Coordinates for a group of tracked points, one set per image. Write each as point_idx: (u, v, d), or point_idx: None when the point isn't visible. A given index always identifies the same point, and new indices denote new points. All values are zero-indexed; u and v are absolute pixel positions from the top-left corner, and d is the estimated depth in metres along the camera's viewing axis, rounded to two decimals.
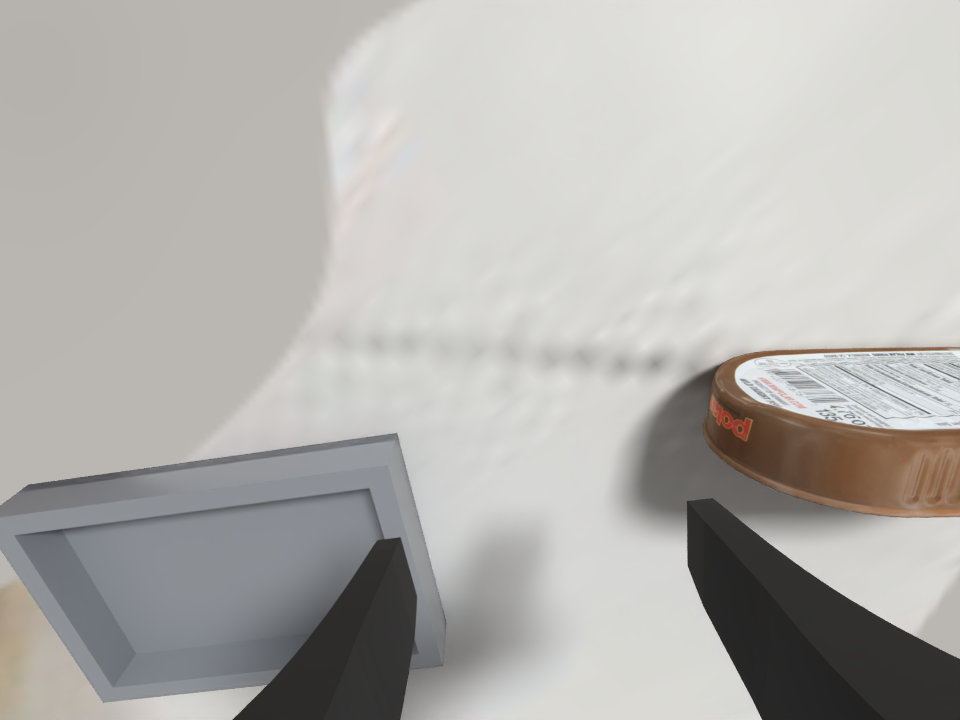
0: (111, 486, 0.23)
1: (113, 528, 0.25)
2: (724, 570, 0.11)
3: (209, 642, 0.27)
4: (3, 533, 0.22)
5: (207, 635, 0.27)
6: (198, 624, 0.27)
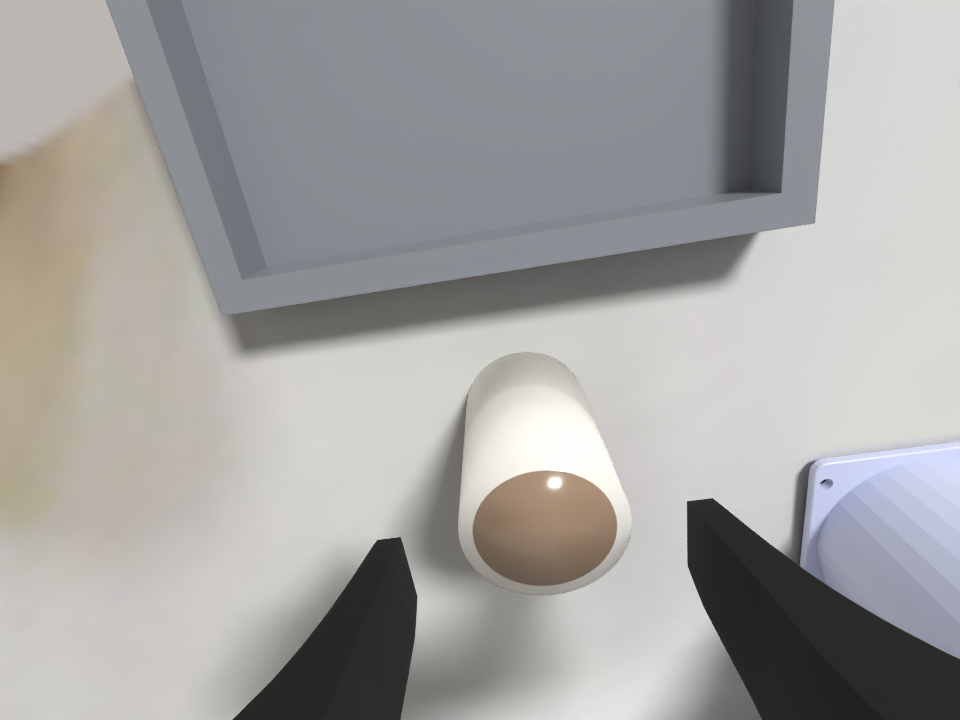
0: None
1: None
2: (725, 570, 0.11)
3: (388, 240, 0.17)
4: None
5: (387, 224, 0.17)
6: (375, 198, 0.16)
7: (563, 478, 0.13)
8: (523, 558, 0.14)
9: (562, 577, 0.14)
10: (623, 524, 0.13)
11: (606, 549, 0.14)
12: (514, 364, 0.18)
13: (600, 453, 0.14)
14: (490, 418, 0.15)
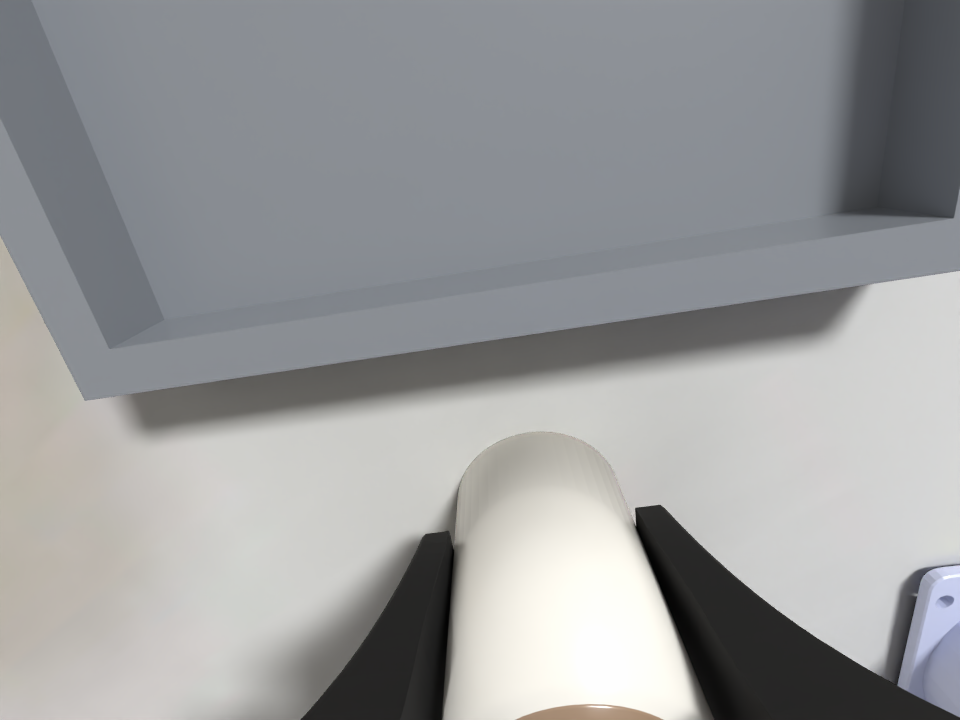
0: None
1: None
2: (664, 577, 0.11)
3: (340, 282, 0.12)
4: None
5: (337, 259, 0.11)
6: (319, 221, 0.11)
7: (617, 716, 0.07)
8: None
9: None
10: None
11: None
12: (524, 454, 0.13)
13: (671, 646, 0.08)
14: (490, 562, 0.10)
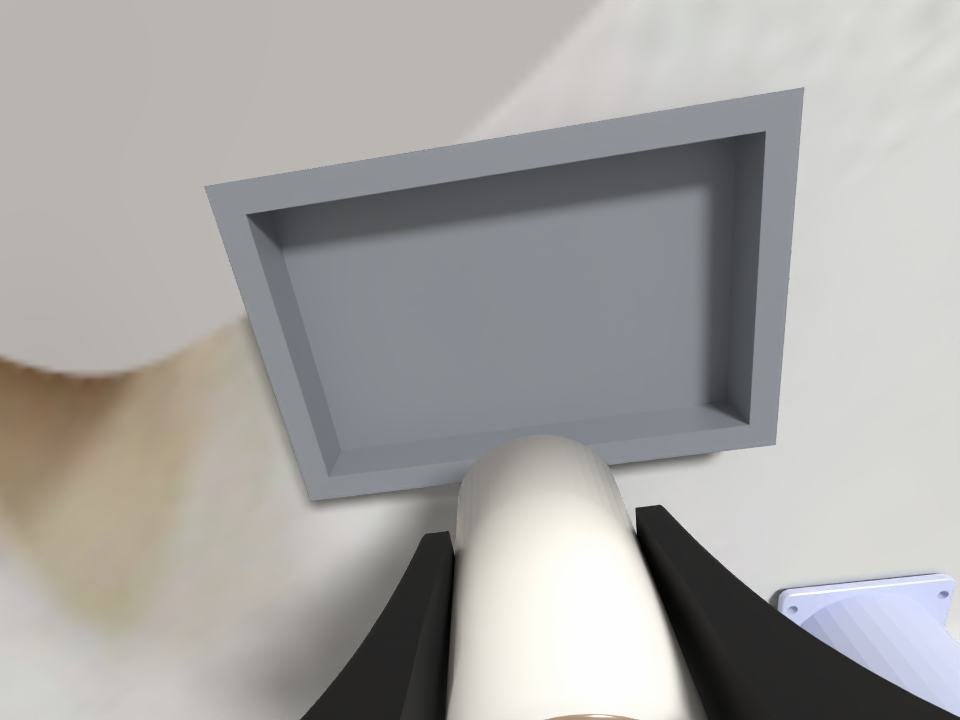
0: None
1: (350, 244, 0.18)
2: (664, 577, 0.11)
3: (439, 433, 0.21)
4: (231, 211, 0.16)
5: (439, 422, 0.21)
6: (431, 404, 0.21)
7: None
8: None
9: None
10: None
11: None
12: (525, 458, 0.13)
13: (670, 655, 0.09)
14: (493, 569, 0.10)
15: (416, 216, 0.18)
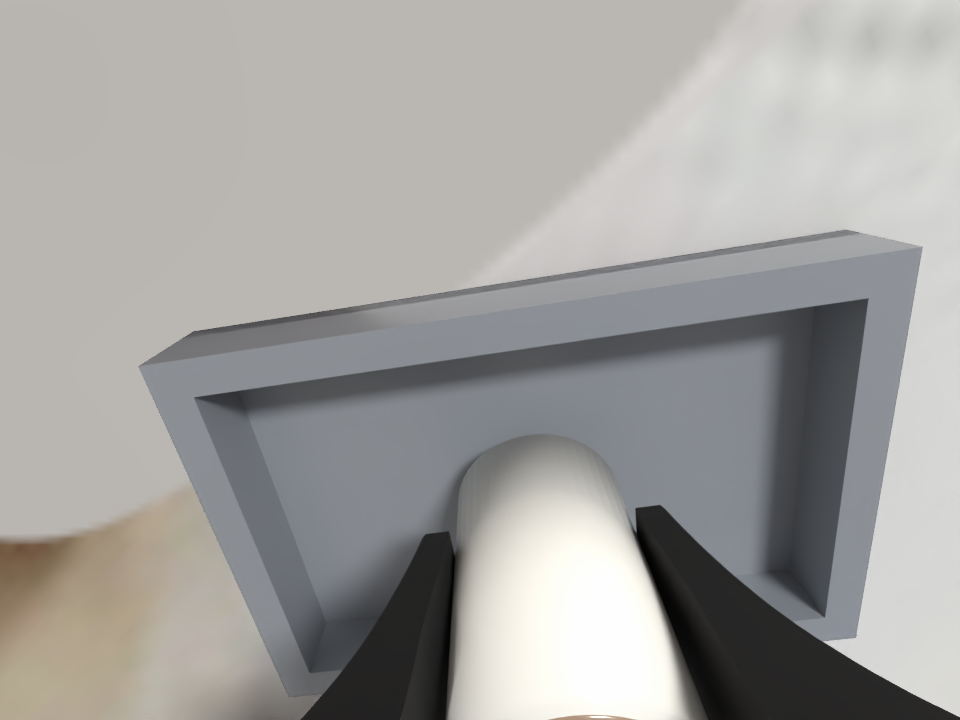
0: (356, 318, 0.13)
1: (331, 406, 0.15)
2: (665, 577, 0.11)
3: None
4: (175, 393, 0.12)
5: None
6: None
7: None
8: None
9: None
10: None
11: None
12: (525, 458, 0.13)
13: (670, 655, 0.09)
14: (493, 569, 0.10)
15: (413, 374, 0.14)
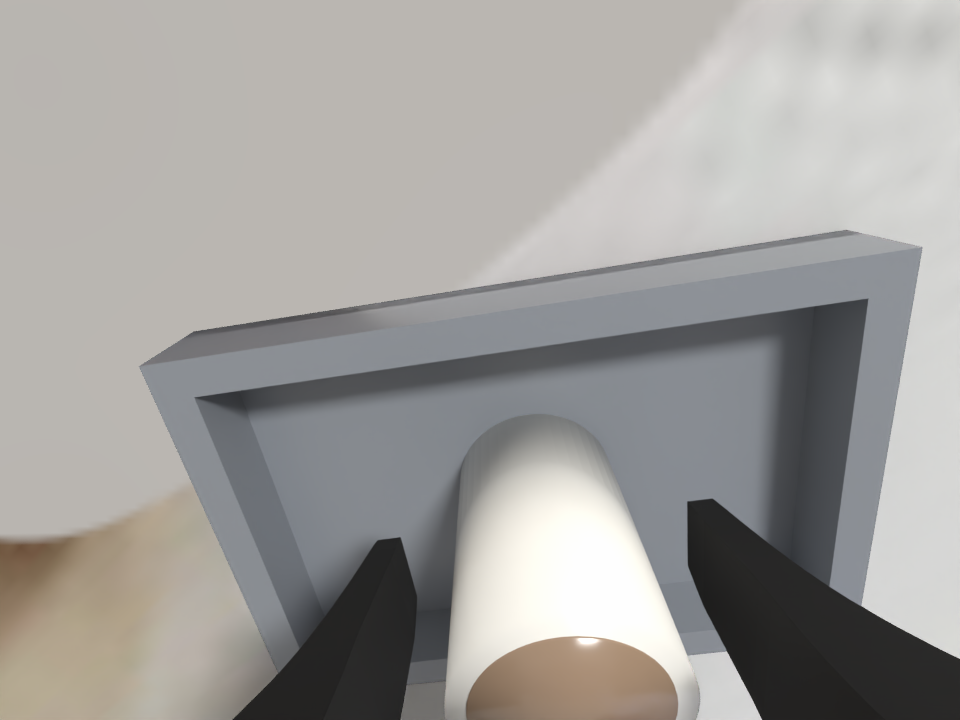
0: (357, 318, 0.13)
1: (332, 406, 0.15)
2: (725, 570, 0.11)
3: (444, 604, 0.18)
4: (175, 393, 0.13)
5: (443, 593, 0.18)
6: (433, 575, 0.17)
7: (602, 647, 0.09)
8: None
9: None
10: (687, 705, 0.09)
11: None
12: (523, 433, 0.14)
13: (651, 593, 0.10)
14: (492, 524, 0.11)
15: (413, 374, 0.14)
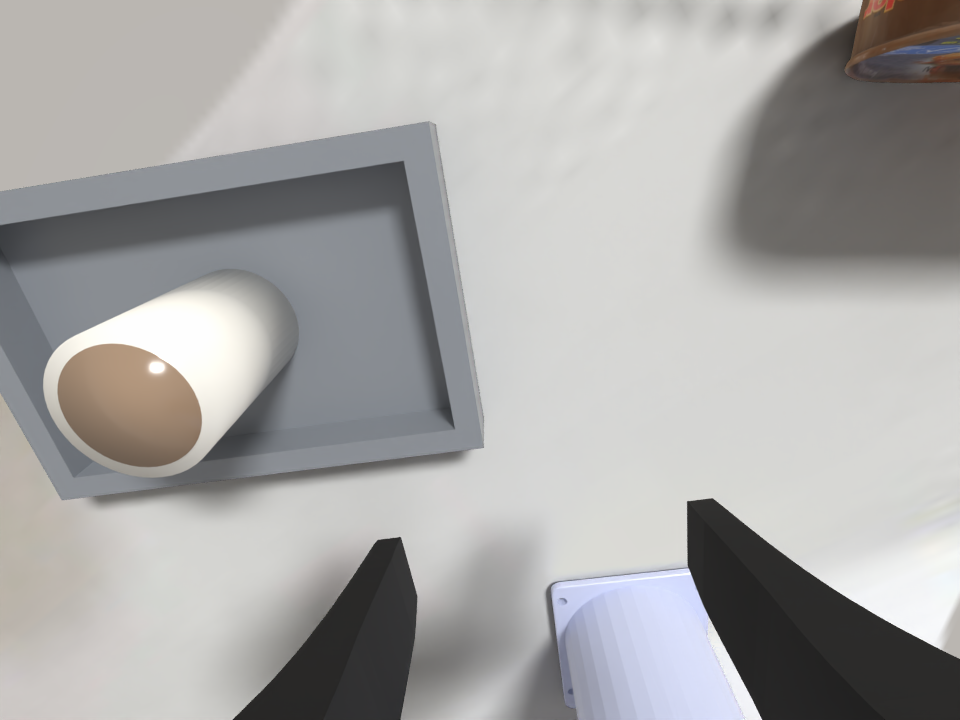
0: None
1: (73, 260, 0.19)
2: (725, 570, 0.11)
3: None
4: None
5: None
6: None
7: (129, 351, 0.13)
8: (119, 436, 0.14)
9: (164, 458, 0.15)
10: (205, 402, 0.14)
11: (196, 428, 0.14)
12: (205, 276, 0.19)
13: (196, 337, 0.14)
14: None
15: (129, 234, 0.19)
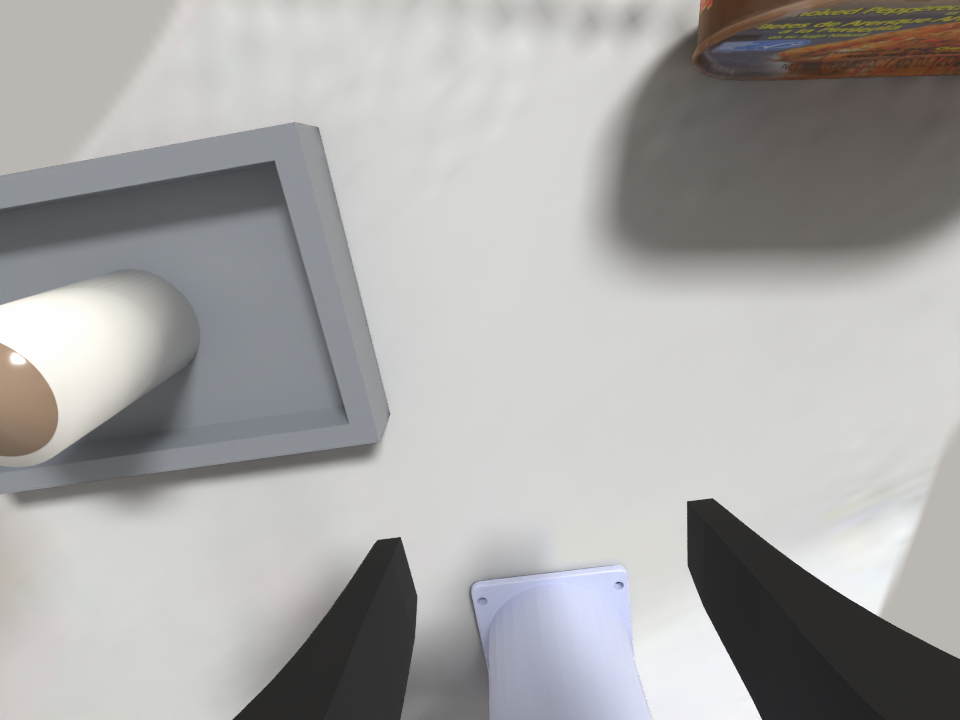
0: None
1: None
2: (724, 570, 0.11)
3: (106, 435, 0.23)
4: None
5: (103, 425, 0.23)
6: None
7: None
8: None
9: (25, 448, 0.15)
10: (58, 392, 0.14)
11: (52, 418, 0.15)
12: (99, 276, 0.19)
13: (56, 330, 0.15)
14: None
15: (30, 236, 0.20)
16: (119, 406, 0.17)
